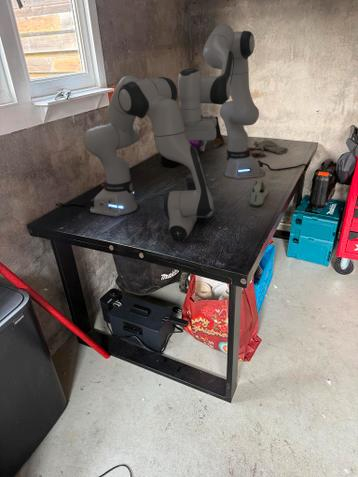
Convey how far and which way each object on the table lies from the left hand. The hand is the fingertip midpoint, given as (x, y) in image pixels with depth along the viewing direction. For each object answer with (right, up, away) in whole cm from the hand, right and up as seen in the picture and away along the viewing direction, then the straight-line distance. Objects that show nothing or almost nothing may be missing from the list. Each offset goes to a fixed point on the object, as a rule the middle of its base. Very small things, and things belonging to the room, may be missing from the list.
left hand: (193, 201), depth 148 cm
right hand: (-1, +19, -12) cm, 23 cm away
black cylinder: (0, -5, +2) cm, 5 cm away
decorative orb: (+2, +44, +86) cm, 97 cm away
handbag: (-9, +33, +68) cm, 77 cm away
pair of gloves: (+49, +43, +80) cm, 103 cm away
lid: (-1, +10, -7) cm, 12 cm away
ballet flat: (+32, +3, +13) cm, 35 cm away
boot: (+23, +55, +103) cm, 119 cm away
